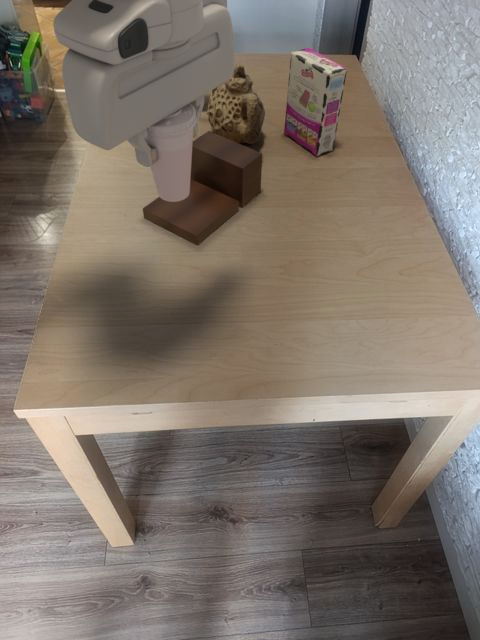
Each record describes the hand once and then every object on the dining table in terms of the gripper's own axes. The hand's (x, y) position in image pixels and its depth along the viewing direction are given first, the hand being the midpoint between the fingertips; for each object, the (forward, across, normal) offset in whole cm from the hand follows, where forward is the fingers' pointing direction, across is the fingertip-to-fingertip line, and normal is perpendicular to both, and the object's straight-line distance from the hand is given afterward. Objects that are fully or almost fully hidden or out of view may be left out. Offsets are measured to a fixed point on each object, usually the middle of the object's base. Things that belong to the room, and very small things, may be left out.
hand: (168, 149), depth 55 cm
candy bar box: (+27, -52, -10) cm, 60 cm away
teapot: (+27, -43, -22) cm, 56 cm away
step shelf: (+26, -22, -14) cm, 37 cm away
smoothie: (+6, 0, 0) cm, 6 cm away
